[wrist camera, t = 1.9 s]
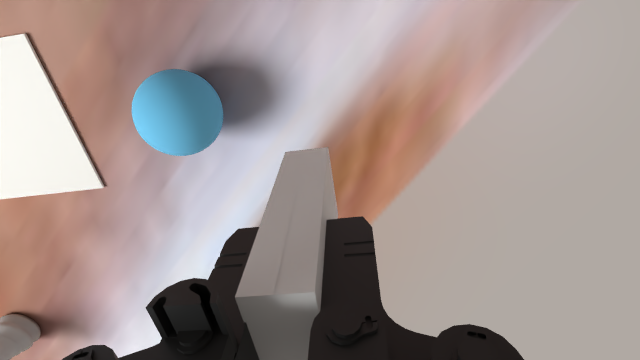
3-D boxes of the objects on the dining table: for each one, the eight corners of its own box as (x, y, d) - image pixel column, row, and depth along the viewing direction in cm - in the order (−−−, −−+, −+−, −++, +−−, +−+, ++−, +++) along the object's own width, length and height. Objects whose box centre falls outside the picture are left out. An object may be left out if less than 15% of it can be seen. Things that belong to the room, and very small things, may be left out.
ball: (176, 44, 23) (133, 60, 19) (247, 94, 25) (224, 120, 20) (144, 108, 26) (99, 136, 21) (210, 150, 27) (182, 185, 22)
